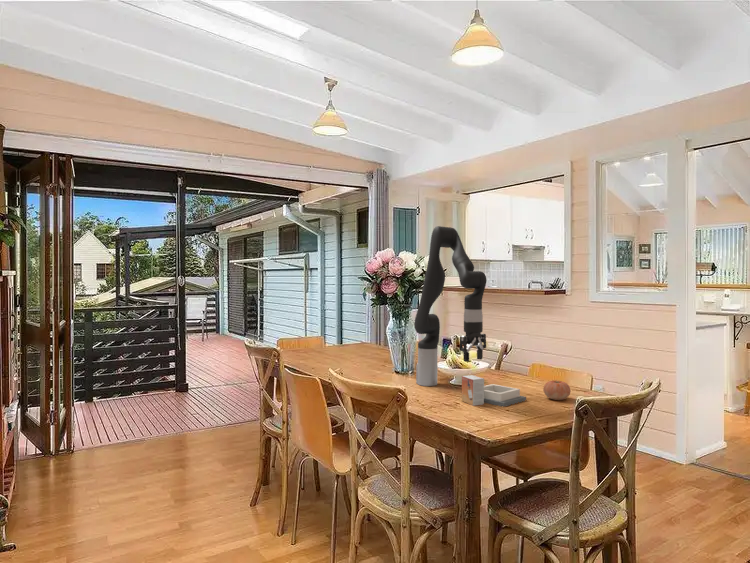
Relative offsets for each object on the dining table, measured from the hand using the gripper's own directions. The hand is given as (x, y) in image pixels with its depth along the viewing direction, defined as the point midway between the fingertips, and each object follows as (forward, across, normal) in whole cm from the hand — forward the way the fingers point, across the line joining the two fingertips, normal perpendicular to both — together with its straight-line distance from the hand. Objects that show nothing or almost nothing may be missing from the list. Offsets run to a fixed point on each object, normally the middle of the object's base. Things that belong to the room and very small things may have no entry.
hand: (473, 360), depth 212 cm
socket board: (+17, -12, +3) cm, 21 cm away
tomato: (+18, -32, +19) cm, 41 cm away
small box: (+18, 0, 0) cm, 18 cm away
